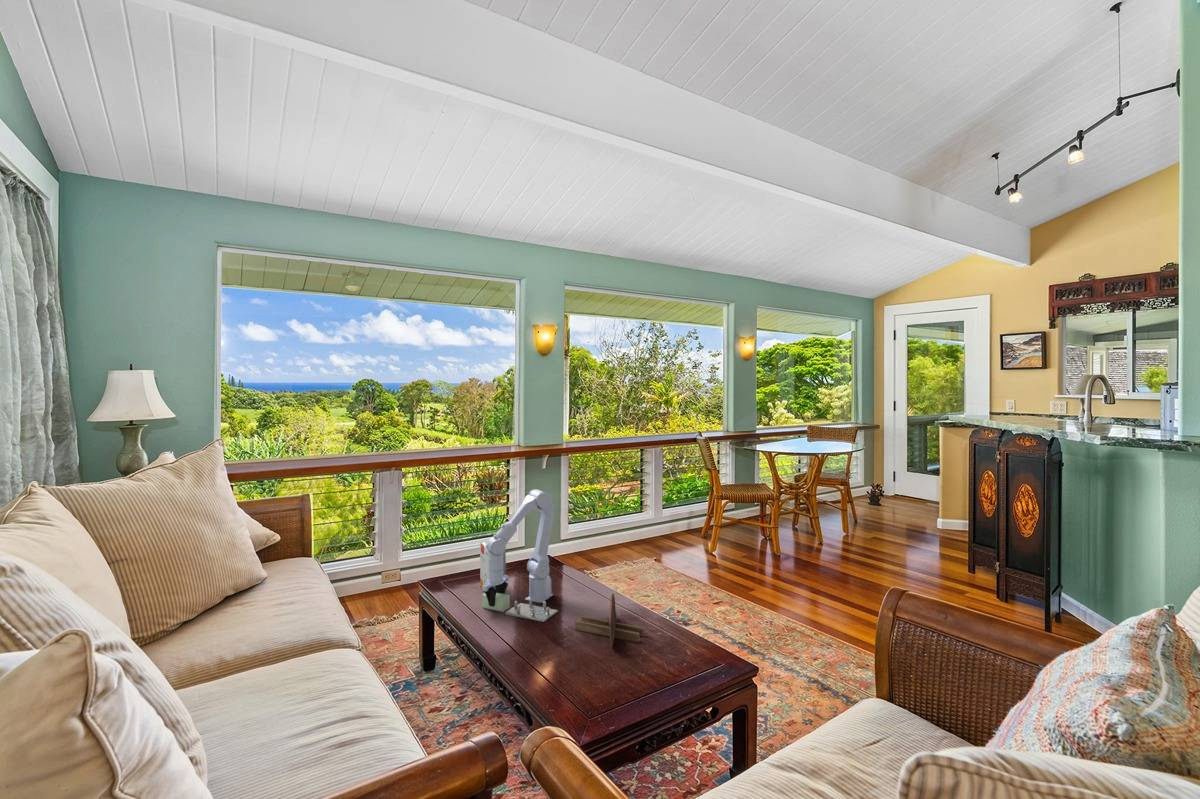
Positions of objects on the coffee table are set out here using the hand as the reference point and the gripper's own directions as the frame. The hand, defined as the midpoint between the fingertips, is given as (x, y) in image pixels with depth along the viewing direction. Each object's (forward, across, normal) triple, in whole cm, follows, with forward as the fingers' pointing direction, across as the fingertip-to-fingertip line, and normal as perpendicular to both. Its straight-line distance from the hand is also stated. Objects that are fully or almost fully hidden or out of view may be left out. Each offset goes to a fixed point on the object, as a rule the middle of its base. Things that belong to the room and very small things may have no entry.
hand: (495, 603), depth 215 cm
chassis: (+1, -1, +16) cm, 16 cm away
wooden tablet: (+1, +2, +51) cm, 51 cm away
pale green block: (+1, 0, 0) cm, 1 cm away
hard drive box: (+2, -14, -12) cm, 19 cm away
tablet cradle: (+1, +2, +50) cm, 50 cm away
